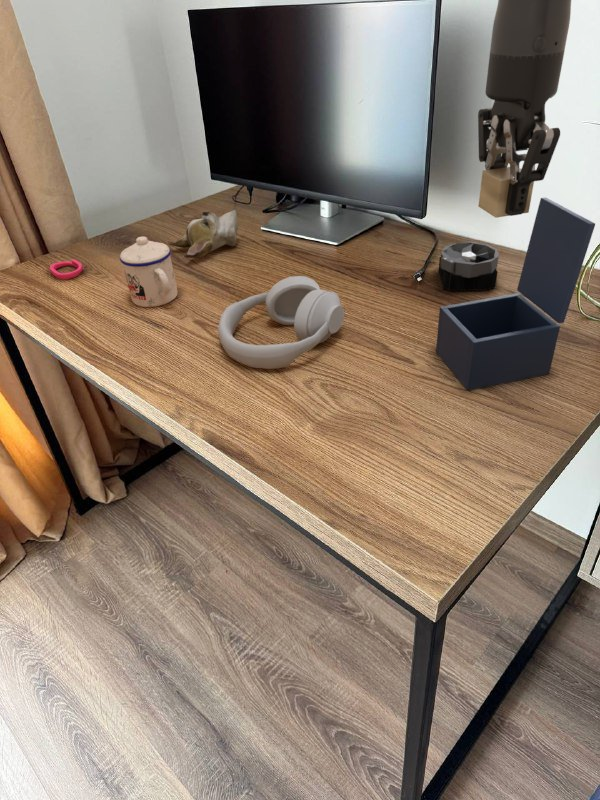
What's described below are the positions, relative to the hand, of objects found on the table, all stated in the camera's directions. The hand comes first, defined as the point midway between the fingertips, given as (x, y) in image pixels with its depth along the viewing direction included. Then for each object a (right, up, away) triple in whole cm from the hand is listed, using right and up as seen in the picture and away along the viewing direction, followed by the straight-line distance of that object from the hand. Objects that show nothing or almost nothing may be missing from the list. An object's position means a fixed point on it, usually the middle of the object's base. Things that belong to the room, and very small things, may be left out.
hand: (503, 206), depth 72 cm
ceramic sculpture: (-45, +9, +55) cm, 72 cm away
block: (0, 0, 0) cm, 0 cm away
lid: (+8, -5, +6) cm, 12 cm away
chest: (+3, -18, +14) cm, 23 cm away
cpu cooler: (+6, -2, +36) cm, 37 cm away
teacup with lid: (-52, -5, +38) cm, 64 cm away
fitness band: (-74, +3, +51) cm, 90 cm away
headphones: (-28, -14, +23) cm, 39 cm away
